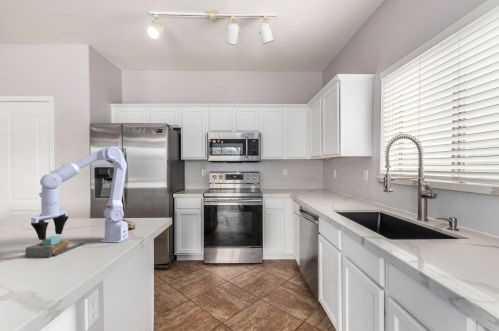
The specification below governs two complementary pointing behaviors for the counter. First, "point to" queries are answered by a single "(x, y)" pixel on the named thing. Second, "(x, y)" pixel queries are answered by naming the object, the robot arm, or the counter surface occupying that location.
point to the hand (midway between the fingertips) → (50, 236)
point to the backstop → (47, 251)
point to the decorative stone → (130, 224)
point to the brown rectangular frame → (56, 246)
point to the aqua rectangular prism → (51, 241)
